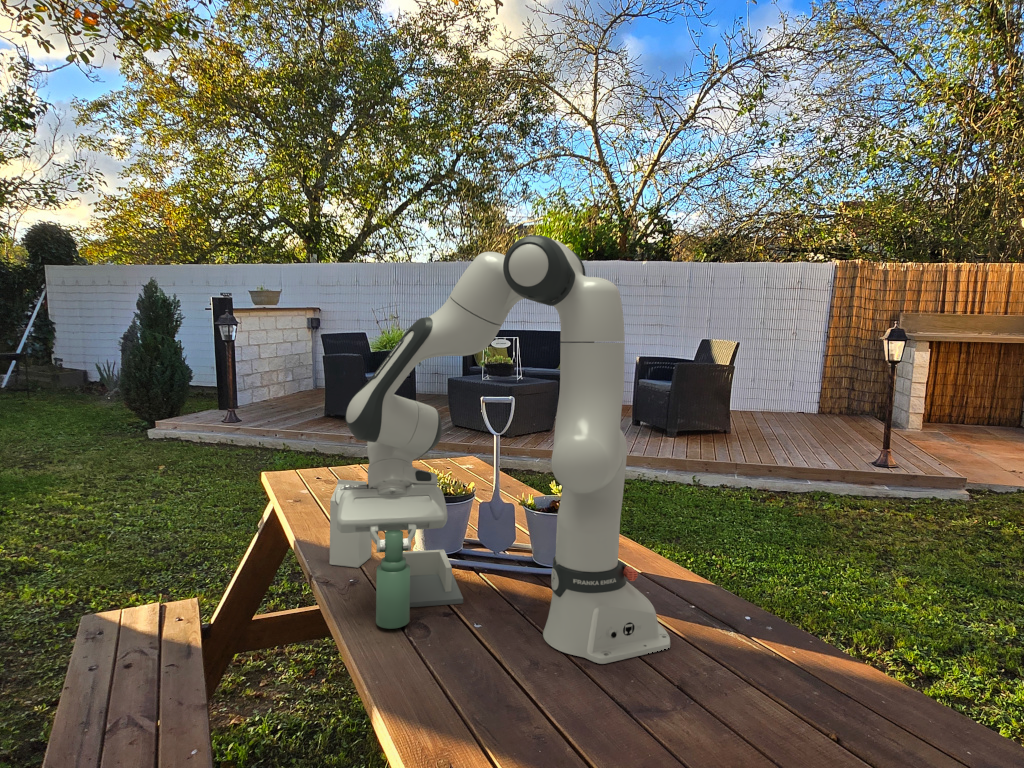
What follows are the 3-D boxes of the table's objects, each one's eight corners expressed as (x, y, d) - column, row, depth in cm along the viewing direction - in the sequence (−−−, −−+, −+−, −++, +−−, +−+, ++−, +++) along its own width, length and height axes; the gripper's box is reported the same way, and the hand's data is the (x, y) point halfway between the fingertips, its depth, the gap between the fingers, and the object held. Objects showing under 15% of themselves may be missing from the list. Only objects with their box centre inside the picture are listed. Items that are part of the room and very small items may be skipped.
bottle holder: (449, 570, 144) (449, 544, 144) (463, 603, 127) (464, 574, 127) (381, 574, 141) (382, 547, 140) (386, 609, 123) (387, 578, 123)
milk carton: (358, 568, 143) (359, 485, 142) (329, 565, 145) (330, 482, 143) (371, 557, 150) (373, 478, 149) (343, 554, 152) (344, 476, 150)
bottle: (407, 612, 120) (409, 526, 119) (411, 626, 114) (412, 536, 113) (375, 615, 119) (376, 528, 117) (376, 629, 113) (377, 538, 111)
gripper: (335, 476, 119) (333, 545, 110) (444, 473, 124) (451, 539, 115) (335, 494, 123) (334, 561, 115) (441, 490, 128) (447, 554, 120)
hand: (394, 550), depth 115 cm, fingers closed on bottle, 3 cm apart
